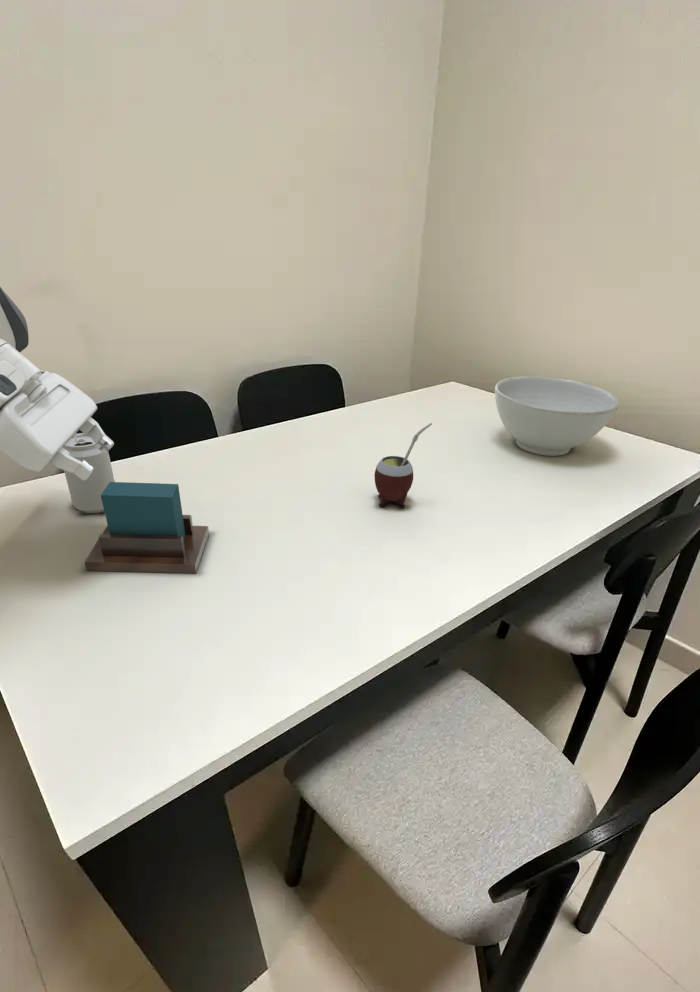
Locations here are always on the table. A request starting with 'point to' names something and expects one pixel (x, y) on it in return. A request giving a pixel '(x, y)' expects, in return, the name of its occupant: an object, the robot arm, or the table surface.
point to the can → (90, 490)
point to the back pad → (143, 509)
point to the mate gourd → (395, 477)
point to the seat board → (149, 551)
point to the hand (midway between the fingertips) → (100, 461)
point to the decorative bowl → (552, 412)
